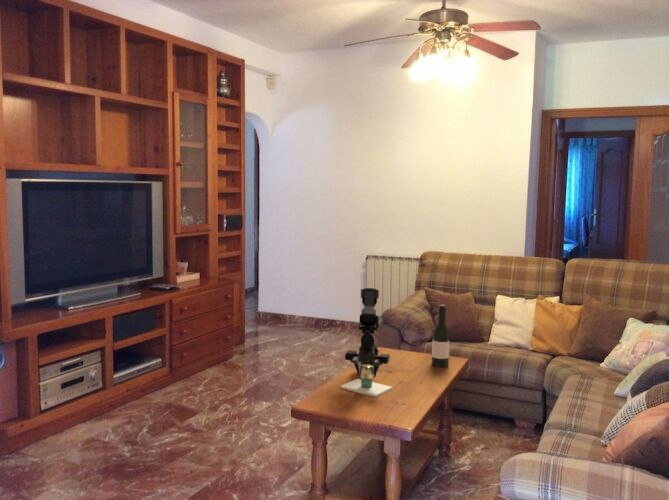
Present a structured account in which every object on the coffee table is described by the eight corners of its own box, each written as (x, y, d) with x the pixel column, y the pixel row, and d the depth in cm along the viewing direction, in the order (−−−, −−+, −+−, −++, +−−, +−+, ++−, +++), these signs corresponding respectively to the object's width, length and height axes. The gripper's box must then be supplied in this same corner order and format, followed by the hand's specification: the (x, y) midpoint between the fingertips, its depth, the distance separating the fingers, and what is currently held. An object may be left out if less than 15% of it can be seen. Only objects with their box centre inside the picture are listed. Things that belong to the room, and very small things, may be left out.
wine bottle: (449, 363, 307) (452, 304, 304) (447, 368, 300) (449, 307, 296) (433, 361, 310) (435, 302, 307) (430, 366, 302) (432, 305, 299)
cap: (371, 375, 270) (372, 364, 269) (374, 379, 264) (374, 368, 264) (359, 375, 269) (359, 364, 269) (361, 379, 264) (362, 368, 263)
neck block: (340, 388, 267) (341, 376, 267) (357, 380, 278) (357, 369, 277) (376, 397, 257) (376, 385, 256) (392, 389, 267) (392, 378, 267)
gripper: (342, 343, 260) (341, 379, 261) (385, 347, 255) (384, 384, 257) (348, 337, 270) (347, 372, 272) (390, 341, 265) (389, 376, 267)
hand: (366, 376), depth 267 cm, fingers open, 7 cm apart
